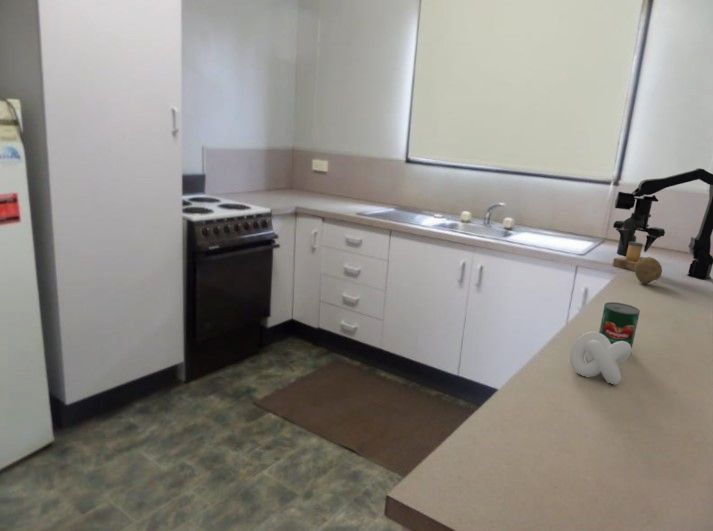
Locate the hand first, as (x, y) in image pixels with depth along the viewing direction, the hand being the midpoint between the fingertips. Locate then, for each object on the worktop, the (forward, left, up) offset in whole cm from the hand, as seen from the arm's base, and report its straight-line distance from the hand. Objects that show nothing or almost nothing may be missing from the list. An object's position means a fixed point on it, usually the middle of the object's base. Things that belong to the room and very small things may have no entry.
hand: (634, 249), depth 226 cm
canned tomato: (-49, +94, -8) cm, 106 cm away
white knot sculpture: (-57, +113, -8) cm, 127 cm away
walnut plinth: (0, 0, -8) cm, 8 cm away
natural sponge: (-17, +20, -8) cm, 27 cm away
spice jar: (0, 0, -5) cm, 5 cm away
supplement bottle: (+16, -23, -8) cm, 29 cm away
